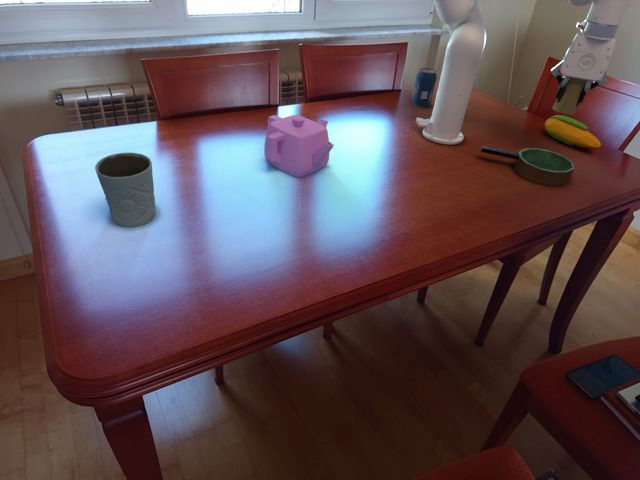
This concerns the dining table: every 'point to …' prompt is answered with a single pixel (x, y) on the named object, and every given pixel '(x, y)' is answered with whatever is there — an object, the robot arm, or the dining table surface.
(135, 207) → the gray embossed cup
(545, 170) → the pan
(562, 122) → the corn
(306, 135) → the teakettle
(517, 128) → the dining table surface
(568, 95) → the cork
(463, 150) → the dining table surface
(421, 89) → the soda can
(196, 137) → the dining table surface
